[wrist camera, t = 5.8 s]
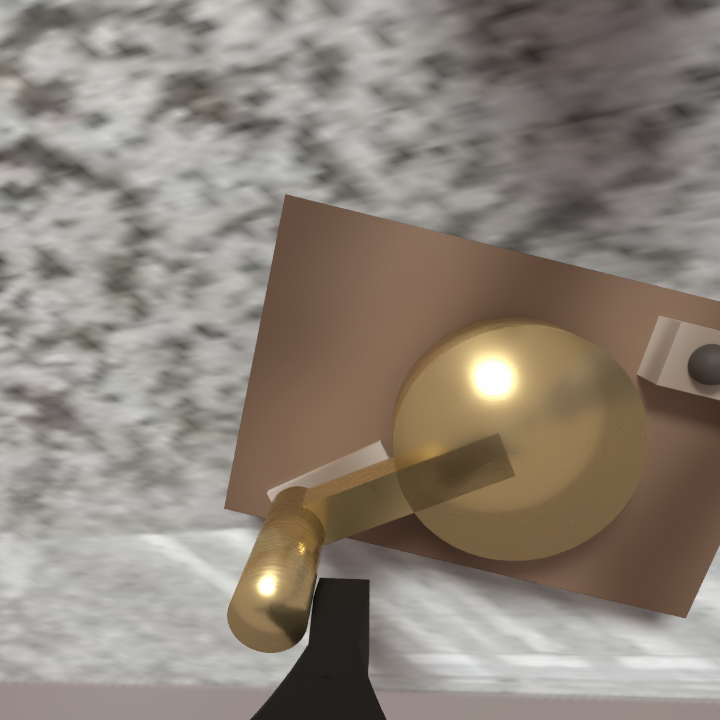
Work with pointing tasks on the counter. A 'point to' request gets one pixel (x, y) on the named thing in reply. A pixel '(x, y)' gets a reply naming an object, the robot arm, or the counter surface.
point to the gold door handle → (465, 466)
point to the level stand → (436, 320)
